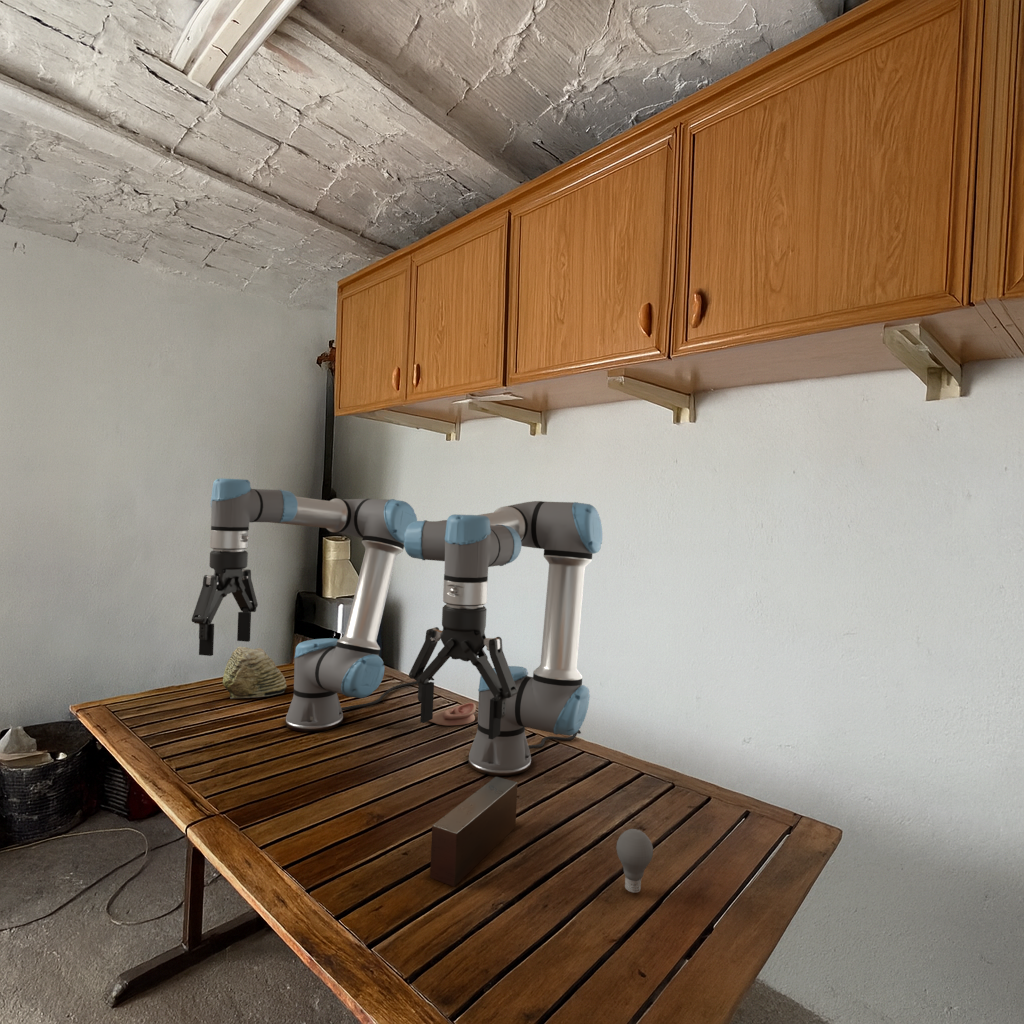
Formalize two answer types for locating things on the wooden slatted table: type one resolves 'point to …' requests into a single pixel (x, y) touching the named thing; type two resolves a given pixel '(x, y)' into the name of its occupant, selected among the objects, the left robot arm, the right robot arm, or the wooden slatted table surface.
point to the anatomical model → (455, 715)
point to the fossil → (252, 674)
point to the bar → (472, 830)
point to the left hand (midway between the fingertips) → (225, 647)
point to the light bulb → (634, 857)
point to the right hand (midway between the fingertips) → (459, 728)
